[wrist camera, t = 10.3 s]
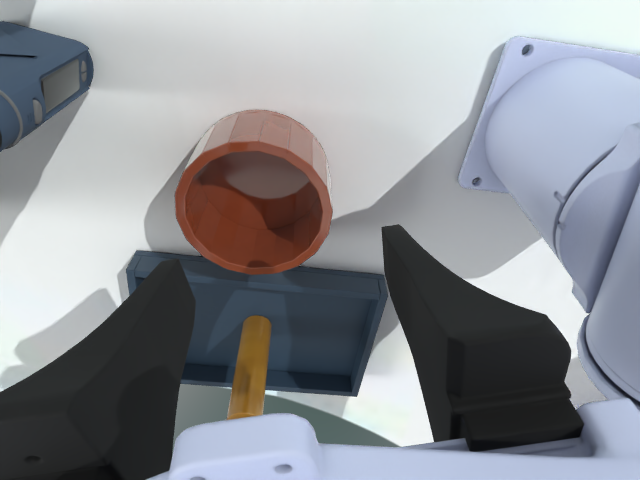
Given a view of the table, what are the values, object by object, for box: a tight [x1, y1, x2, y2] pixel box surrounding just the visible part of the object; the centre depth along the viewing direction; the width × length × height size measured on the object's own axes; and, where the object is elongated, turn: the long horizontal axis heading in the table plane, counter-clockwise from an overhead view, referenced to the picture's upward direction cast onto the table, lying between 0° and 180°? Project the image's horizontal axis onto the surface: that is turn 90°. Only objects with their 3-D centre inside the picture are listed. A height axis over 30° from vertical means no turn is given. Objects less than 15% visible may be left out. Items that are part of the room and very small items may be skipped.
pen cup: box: [175, 110, 333, 275], centre depth 24 cm, size 8×8×4 cm
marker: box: [227, 315, 272, 420], centre depth 28 cm, size 2×2×8 cm
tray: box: [126, 250, 388, 397], centre depth 31 cm, size 16×10×2 cm, turn 82°
